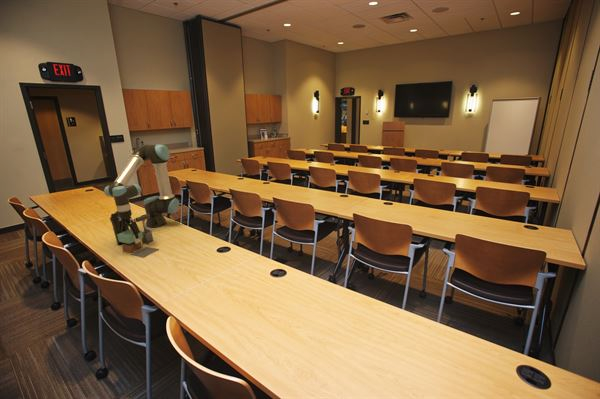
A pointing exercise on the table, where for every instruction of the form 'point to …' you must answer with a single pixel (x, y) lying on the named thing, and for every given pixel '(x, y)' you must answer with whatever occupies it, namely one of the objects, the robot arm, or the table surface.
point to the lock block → (147, 237)
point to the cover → (128, 236)
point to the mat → (144, 252)
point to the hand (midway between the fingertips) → (131, 241)
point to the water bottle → (116, 226)
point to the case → (131, 247)
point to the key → (144, 222)
